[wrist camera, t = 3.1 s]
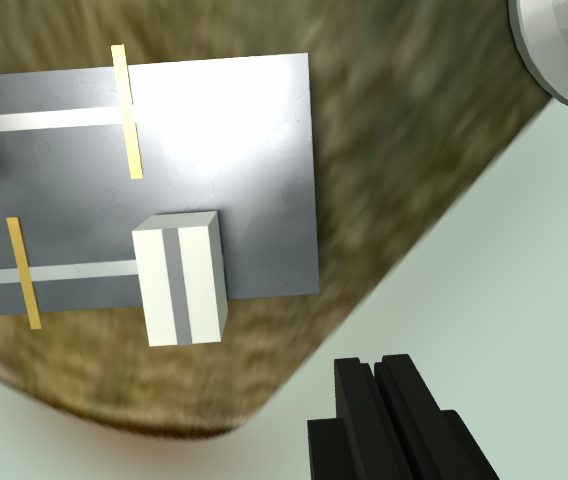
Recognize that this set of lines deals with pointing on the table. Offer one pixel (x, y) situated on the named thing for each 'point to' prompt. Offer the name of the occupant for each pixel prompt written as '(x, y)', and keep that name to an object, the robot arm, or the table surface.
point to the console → (154, 176)
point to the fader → (181, 278)
